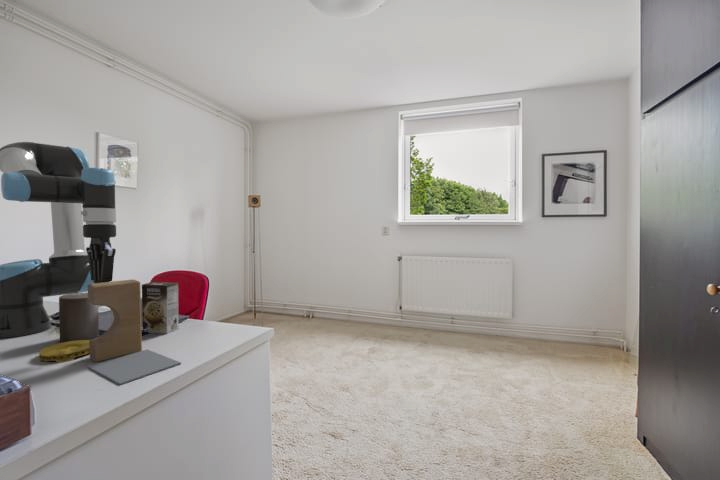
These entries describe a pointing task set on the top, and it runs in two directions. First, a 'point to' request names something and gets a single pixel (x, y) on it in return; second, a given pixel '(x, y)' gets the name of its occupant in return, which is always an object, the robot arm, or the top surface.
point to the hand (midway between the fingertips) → (102, 305)
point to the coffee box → (160, 307)
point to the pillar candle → (77, 318)
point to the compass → (65, 351)
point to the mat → (133, 366)
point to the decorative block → (117, 319)
